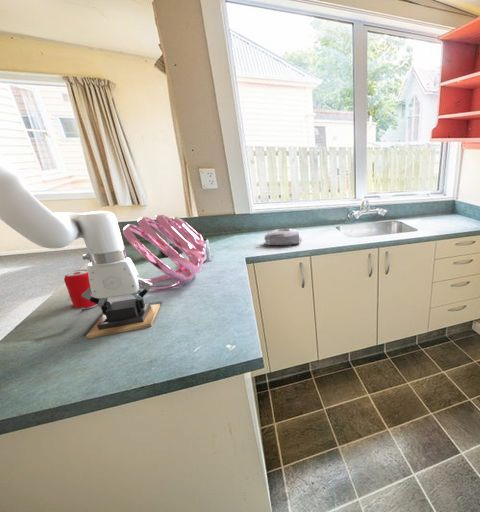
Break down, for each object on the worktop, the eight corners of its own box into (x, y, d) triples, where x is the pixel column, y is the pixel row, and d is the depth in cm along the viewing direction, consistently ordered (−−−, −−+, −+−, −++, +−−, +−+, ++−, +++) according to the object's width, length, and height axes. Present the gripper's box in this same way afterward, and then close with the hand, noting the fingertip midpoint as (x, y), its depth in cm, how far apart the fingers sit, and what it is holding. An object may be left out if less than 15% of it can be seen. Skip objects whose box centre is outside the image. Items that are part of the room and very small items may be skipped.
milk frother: (168, 258, 144) (162, 228, 140) (146, 254, 149) (139, 225, 144) (195, 250, 157) (189, 222, 153) (173, 247, 162) (167, 220, 157)
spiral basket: (73, 249, 90) (154, 195, 98) (112, 247, 116) (173, 204, 123) (150, 311, 99) (218, 257, 107) (170, 297, 125) (224, 254, 132)
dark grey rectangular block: (108, 322, 84) (105, 311, 83) (115, 312, 89) (112, 302, 88) (137, 317, 87) (134, 306, 85) (142, 308, 92) (139, 297, 91)
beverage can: (98, 300, 101) (87, 267, 97) (103, 305, 97) (92, 271, 94) (72, 307, 96) (60, 273, 92) (77, 313, 93) (64, 277, 89)
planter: (210, 261, 140) (206, 240, 136) (199, 262, 138) (195, 241, 135) (212, 258, 144) (209, 238, 141) (202, 259, 142) (198, 239, 139)
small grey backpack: (300, 238, 182) (265, 241, 176) (299, 225, 179) (264, 227, 173) (301, 245, 168) (263, 247, 162) (300, 231, 165) (261, 233, 160)
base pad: (87, 338, 79) (84, 330, 79) (105, 315, 91) (103, 308, 91) (151, 326, 86) (149, 319, 85) (160, 306, 97) (158, 299, 97)
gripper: (59, 265, 75) (81, 326, 81) (144, 255, 83) (159, 312, 88) (72, 256, 82) (92, 314, 87) (150, 249, 89) (163, 302, 95)
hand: (125, 312), depth 88 cm, fingers closed on dark grey rectangular block, 6 cm apart
